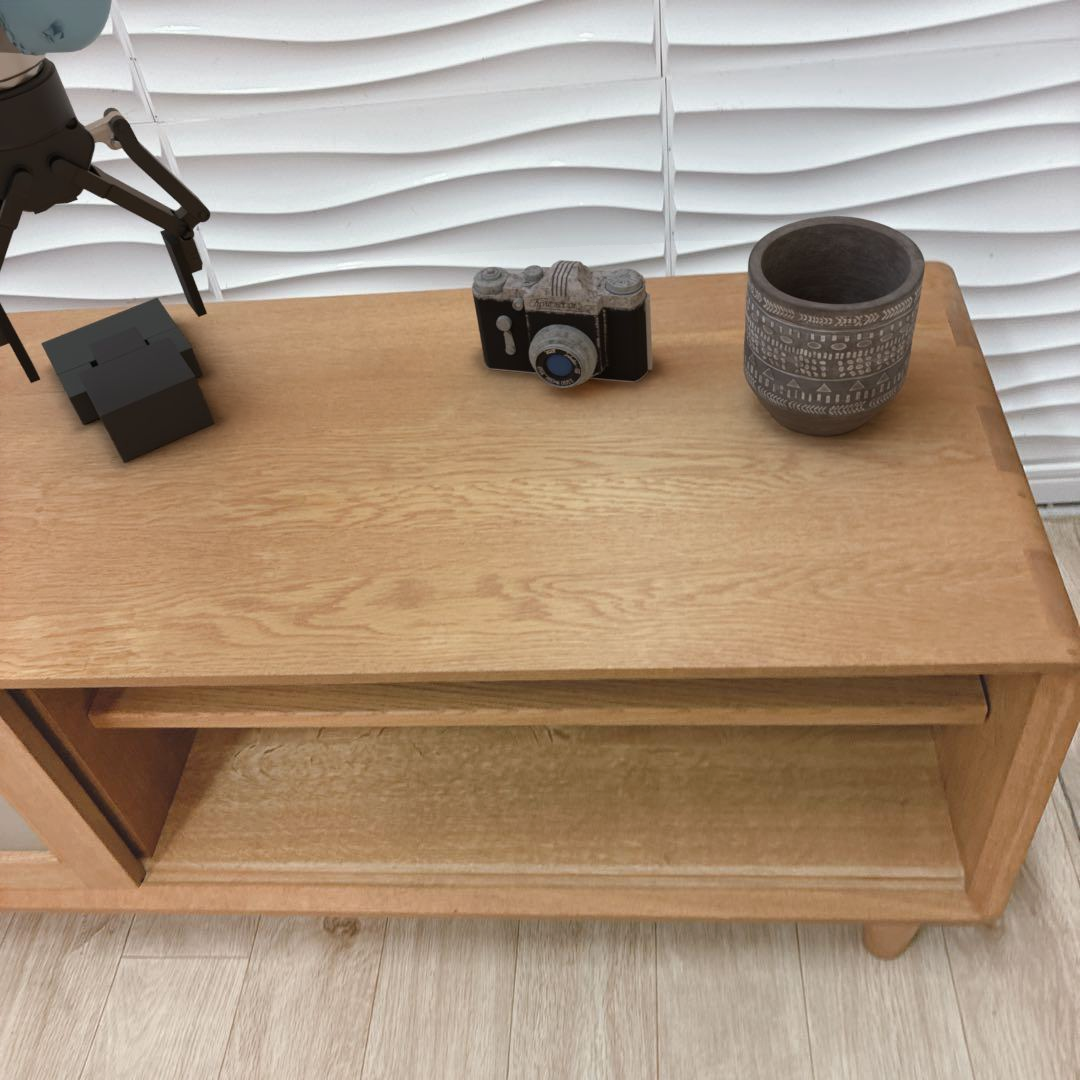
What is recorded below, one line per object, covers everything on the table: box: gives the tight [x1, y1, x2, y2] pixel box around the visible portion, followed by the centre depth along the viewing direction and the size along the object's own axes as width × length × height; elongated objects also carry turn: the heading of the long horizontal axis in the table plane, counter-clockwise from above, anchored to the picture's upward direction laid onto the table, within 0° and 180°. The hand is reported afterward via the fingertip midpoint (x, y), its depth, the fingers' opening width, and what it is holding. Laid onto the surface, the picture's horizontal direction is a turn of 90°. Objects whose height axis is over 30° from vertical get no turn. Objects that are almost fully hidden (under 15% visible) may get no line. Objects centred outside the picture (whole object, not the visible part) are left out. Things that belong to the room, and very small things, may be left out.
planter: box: [743, 215, 926, 437], centre depth 80 cm, size 12×12×13 cm
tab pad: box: [78, 327, 215, 463], centre depth 91 cm, size 8×11×5 cm
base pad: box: [41, 297, 204, 425], centre depth 96 cm, size 11×10×3 cm
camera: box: [471, 259, 653, 389], centre depth 87 cm, size 15×7×10 cm, turn 74°
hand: (116, 340), depth 86 cm, fingers open, 13 cm apart
